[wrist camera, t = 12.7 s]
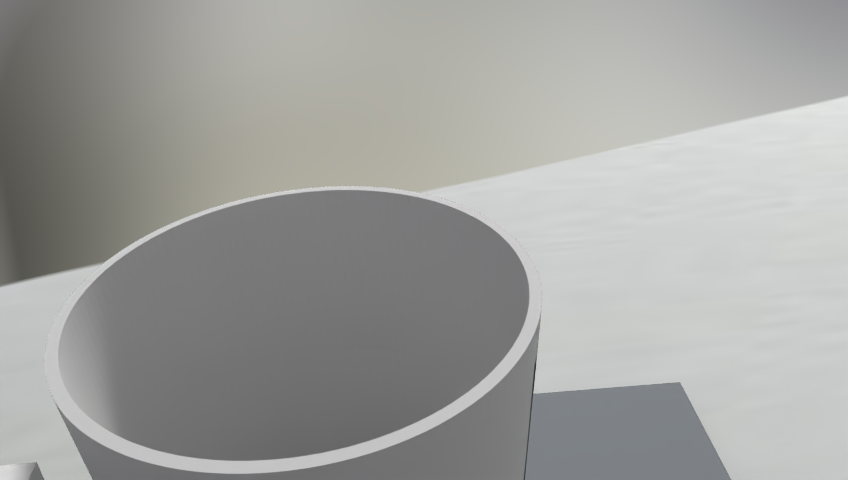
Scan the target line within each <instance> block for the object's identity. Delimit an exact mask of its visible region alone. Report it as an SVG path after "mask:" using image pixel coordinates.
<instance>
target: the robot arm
mask: <svg viewBox="0 0 848 480" xmlns="http://www.w3.org/2000/svg"><path fill="white" fill-rule="evenodd" d="M0 480H44V478H43V476H42V474H41V471H40V469H39V467H38V464H37V462H36V463H25V464H14V465H3V466H0Z"/></svg>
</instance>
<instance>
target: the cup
mask: <svg viewBox="0 0 848 480" xmlns="http://www.w3.org/2000/svg"><path fill="white" fill-rule="evenodd" d="M541 308H542V289H541V282H540V278H539V275H538V272H537V269H536V267H535V265H534V263H533V261H532V259H531V257H530V255H529V254H528V252H527V251H526V250H525V248H524V247H523V246H522V245H521V244H520V242H519V241H518V240H517V239H516V238H515V237H514V236H513V235H512V234H510V233H509V232H508V231H507V230H506V229H504V228H503V227H502V226H500V225H499V224H497V223H496V222H494V221H493V220H491V219H489V218H488V217H486V216H484V215H482V214H480V213H478V212H476V211H474V210H472V209H470V208H468V207H465V206H463V205H460V204H457V203H455V202H452V201H449V200H446V199H442V198H439V197H435V196H431V195H427V194H422V193H417V192H412V191H406V190H398V189H390V188H380V187H363V186H362V187H361V186H335V187H316V188H305V189H296V190H288V191H282V192H276V193H270V194H265V195H260V196H255V197H250V198H246V199H242V200H238V201H234V202H230V203H227V204H223V205H220V206H217V207H214V208H211V209H208V210H204V211H202V212H199V213H196V214H194V215H191V216H188V217H186V218H183V219H181V220H178V221H176V222H174V223H172V224H169V225H167V226H165V227H163V228H161V229H159V230H157V231H154V232H152V233H151V234H149V235H147V236H145V237H143V238H141V239H140V240H138V241H136V242H134V243H133V244H131V245H129V246H128V247H126V248H125V249H123V250H122V251H120V252H119V253H117V254H116V255H114V256H113V257H112V258H110V259H109V260H108V261H106V262H105V263H104V264H102V265H101V266H100V267H99V268H98V269H96V270H95V271H94V272H93V273H92V274H91V275H90V276H89V277H87V278H86V279H85V280H84V281H83V282H82V283H81V284H80V286H79V287H78V288H77V289H76V290H75V291H74V292H73V293H72V295H71V296H70V297H69V298H68V300H67V301H66V302H65V304H64V305H63V307H62V308H61V310H60V312H59V313H58V315H57V317H56V319H55V321H54V323H53V325H52V327H51V330H50V332H49V335H48V338H47V342H46V347H45V353H44V370H45V377H46V382H47V385H48V388H49V391H50V393H51V395H52V397H53V400H54V402H55V404H56V406H57V408H58V410H59V412H60V414H61V416H62V418H63V420H64V422H65V424H66V426H67V428H68V430H69V432H70V434H71V436H72V438H73V440H74V442H75V444H76V446H77V448H78V450H79V453H80V455H81V457H82V459H83V461H84V463H85V465H86V467H87V469H88V471H89V473H90V475H91V477H92V479H93V480H525V473H526V462H527V452H528V442H529V431H530V421H531V411H532V401H533V390H534V380H535V370H536V360H537V349H538V339H539V329H540V318H541Z"/></svg>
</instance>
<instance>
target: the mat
mask: <svg viewBox="0 0 848 480" xmlns="http://www.w3.org/2000/svg"><path fill="white" fill-rule="evenodd" d="M525 480H731V479H730V477H729V475H728V473H727V471H726V469H725V467H724V465H723V463H722V462H721V460H720V458H719V456H718V454H717V452H716V450H715V448H714V446H713V444H712V442H711V441H710V439H709V437H708V435H707V433H706V431H705V429H704V427H703V425H702V423H701V422H700V420H699V418H698V416H697V414H696V412H695V410H694V408H693V406H692V404H691V402H690V401H689V399H688V397H687V395H686V393H685V391H684V389H683V387H682V385H681V383H680V382H677V383H665V384H652V385H640V386H627V387H615V388H602V389H590V390H577V391H565V392H552V393H540V394H533V401H532V411H531V421H530V431H529V442H528V452H527V462H526V473H525Z"/></svg>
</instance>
